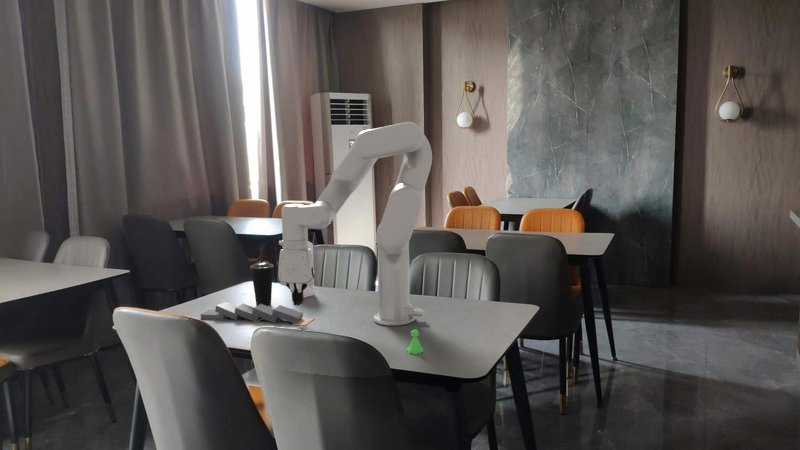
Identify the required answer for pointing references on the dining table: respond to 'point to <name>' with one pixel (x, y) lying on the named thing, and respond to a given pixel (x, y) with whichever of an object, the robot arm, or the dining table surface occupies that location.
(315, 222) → the robot arm
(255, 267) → the drinking cup
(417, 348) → the game piece
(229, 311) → the domino
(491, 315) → the dining table surface
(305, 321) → the head marker
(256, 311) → the domino
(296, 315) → the domino
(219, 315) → the domino
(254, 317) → the domino
